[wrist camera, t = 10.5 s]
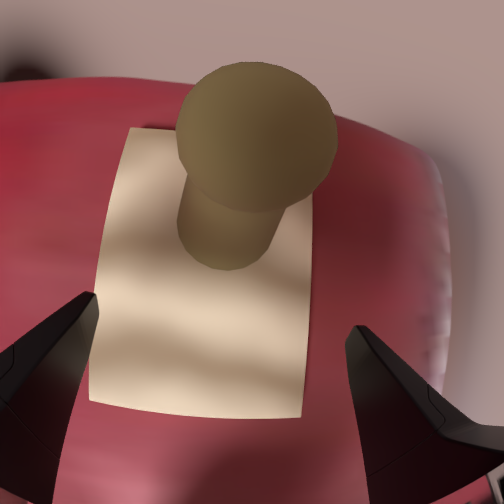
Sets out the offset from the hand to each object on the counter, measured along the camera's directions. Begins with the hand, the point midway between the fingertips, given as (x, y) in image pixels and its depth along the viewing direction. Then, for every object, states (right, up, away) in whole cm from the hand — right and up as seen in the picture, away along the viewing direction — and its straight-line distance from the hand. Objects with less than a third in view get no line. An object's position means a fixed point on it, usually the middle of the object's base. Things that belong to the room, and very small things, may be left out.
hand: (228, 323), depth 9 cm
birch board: (-2, +1, +9) cm, 9 cm away
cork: (-1, +4, +9) cm, 10 cm away
